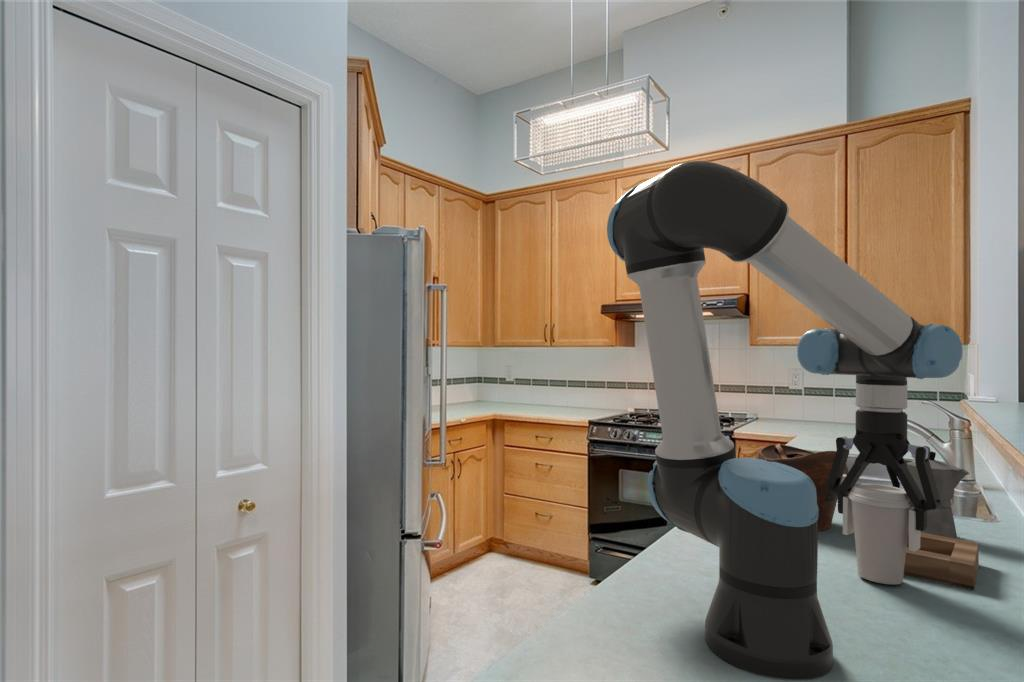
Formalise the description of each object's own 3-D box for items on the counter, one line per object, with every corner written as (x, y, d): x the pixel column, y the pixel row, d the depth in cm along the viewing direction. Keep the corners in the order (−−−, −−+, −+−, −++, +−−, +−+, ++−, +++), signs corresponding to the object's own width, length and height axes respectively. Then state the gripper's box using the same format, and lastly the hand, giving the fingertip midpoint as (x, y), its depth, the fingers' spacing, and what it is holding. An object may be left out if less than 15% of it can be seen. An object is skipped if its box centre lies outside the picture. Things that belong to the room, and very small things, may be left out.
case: (761, 506, 146) (761, 435, 146) (852, 521, 135) (852, 444, 135) (742, 523, 132) (743, 445, 132) (843, 542, 120) (843, 455, 120)
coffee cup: (918, 577, 99) (919, 489, 99) (908, 593, 92) (909, 498, 92) (855, 562, 105) (855, 480, 106) (841, 576, 98) (842, 487, 99)
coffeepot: (977, 539, 122) (976, 454, 122) (960, 547, 116) (960, 458, 117) (895, 522, 134) (895, 444, 135) (877, 528, 129) (877, 447, 129)
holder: (973, 590, 95) (973, 565, 95) (861, 565, 105) (861, 543, 106) (978, 564, 107) (978, 542, 107) (877, 544, 118) (877, 525, 118)
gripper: (967, 414, 93) (966, 555, 92) (824, 403, 111) (823, 521, 110) (951, 416, 88) (950, 564, 88) (805, 405, 106) (804, 528, 105)
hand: (880, 540), depth 99 cm, fingers closed on coffee cup, 9 cm apart
